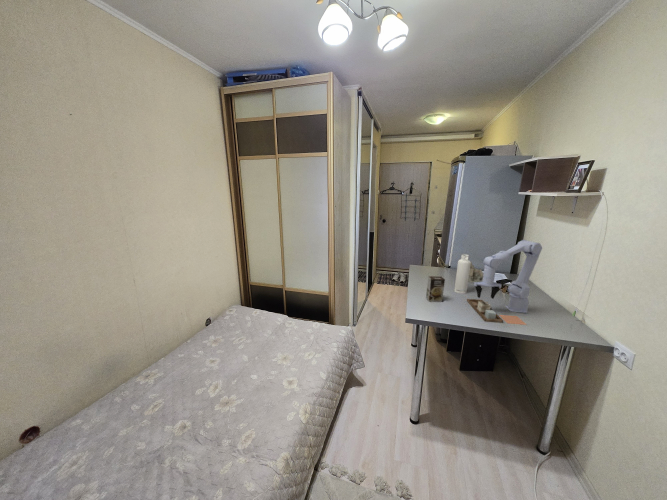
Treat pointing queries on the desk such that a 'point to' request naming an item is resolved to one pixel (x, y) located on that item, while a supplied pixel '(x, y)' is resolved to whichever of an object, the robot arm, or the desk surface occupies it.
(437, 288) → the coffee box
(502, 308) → the desk surface
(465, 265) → the bottle
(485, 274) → the robot arm
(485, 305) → the letter cube
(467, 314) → the desk surface
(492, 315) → the blank block
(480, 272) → the ceramic cottage
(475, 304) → the organizer
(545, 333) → the desk surface
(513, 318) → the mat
